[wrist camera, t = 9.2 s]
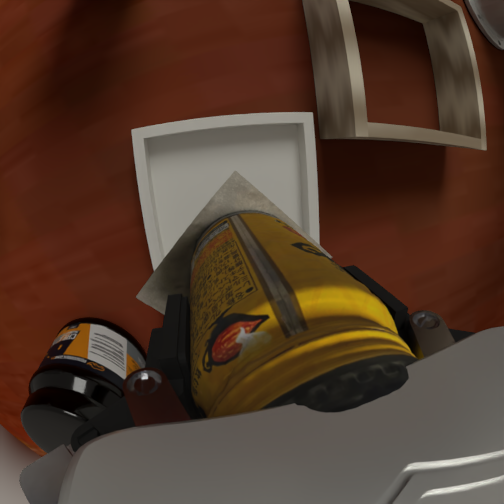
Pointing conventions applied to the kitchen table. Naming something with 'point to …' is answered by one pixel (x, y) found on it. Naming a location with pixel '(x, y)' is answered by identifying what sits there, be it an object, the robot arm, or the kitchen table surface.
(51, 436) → the supplement container
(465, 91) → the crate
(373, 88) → the kitchen table surface
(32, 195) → the kitchen table surface
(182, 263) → the condiment
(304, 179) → the tray
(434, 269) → the kitchen table surface
